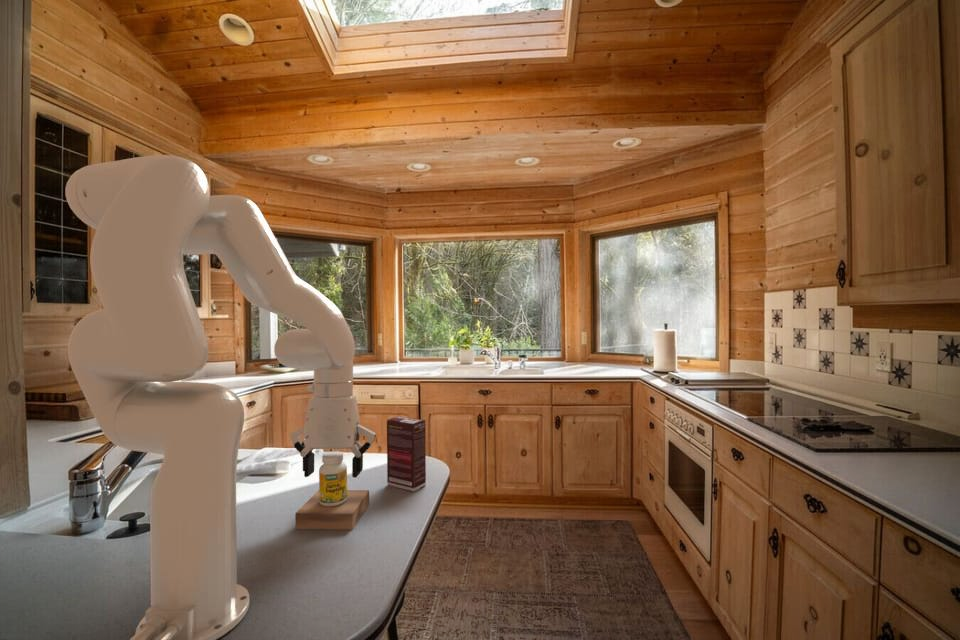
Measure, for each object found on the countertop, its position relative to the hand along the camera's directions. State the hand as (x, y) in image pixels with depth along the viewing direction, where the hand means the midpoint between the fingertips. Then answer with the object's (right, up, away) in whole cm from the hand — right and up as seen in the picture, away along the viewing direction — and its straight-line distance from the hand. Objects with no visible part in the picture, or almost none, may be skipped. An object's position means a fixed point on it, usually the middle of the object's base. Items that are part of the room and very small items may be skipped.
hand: (332, 474), depth 86 cm
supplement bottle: (0, -6, 0) cm, 6 cm away
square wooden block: (0, -9, +1) cm, 9 cm away
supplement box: (+12, -9, +16) cm, 22 cm away
